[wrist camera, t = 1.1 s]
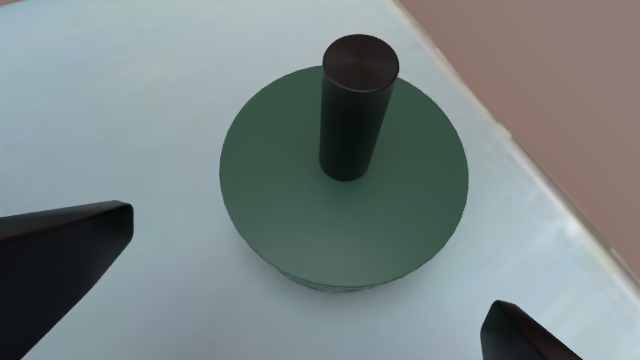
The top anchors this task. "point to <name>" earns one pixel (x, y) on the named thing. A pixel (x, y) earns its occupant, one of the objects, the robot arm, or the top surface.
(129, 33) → the top surface
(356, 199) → the lid
